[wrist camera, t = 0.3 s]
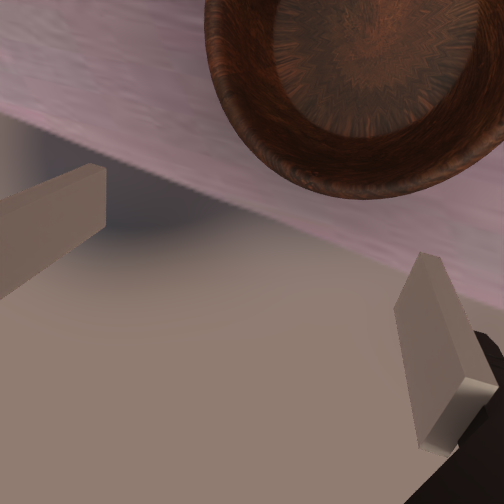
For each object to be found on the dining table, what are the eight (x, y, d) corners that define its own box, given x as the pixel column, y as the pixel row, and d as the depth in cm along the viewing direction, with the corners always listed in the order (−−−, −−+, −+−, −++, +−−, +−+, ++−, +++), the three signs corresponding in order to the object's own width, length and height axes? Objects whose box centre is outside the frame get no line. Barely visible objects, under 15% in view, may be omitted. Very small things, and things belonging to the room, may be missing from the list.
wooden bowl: (237, 162, 44) (205, 187, 35) (240, -133, 33) (195, -208, 24) (477, 182, 39) (513, 218, 30) (577, -160, 28) (682, -268, 19)
